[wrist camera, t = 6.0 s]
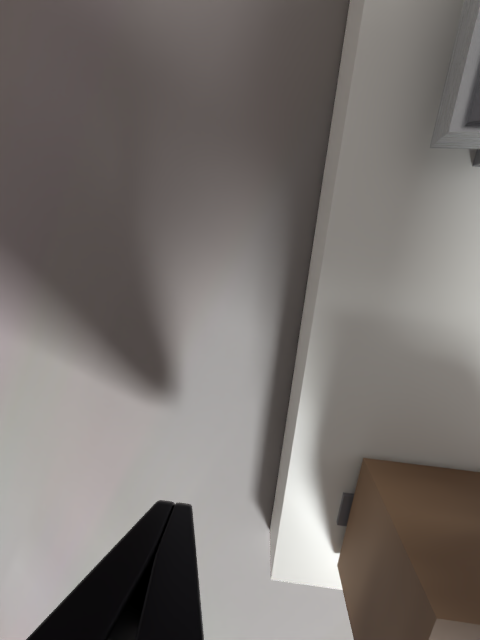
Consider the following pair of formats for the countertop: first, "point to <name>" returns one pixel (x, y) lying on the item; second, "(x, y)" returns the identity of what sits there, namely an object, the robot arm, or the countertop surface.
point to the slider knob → (412, 553)
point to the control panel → (382, 289)
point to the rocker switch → (461, 87)
